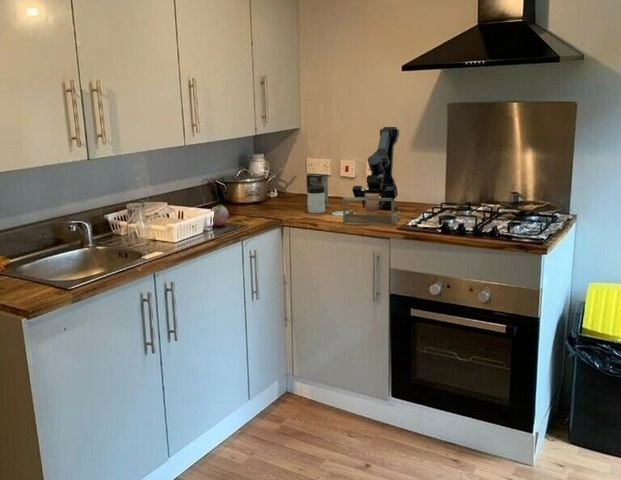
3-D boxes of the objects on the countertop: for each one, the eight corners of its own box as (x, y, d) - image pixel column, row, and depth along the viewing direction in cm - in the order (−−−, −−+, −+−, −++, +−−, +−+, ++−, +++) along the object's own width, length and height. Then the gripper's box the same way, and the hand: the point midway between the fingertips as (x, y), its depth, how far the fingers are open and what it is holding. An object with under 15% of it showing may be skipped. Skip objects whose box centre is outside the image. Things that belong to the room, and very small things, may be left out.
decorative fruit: (210, 224, 283) (209, 202, 281) (229, 223, 284) (228, 201, 282) (209, 228, 274) (207, 206, 272) (228, 228, 275) (227, 205, 272)
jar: (313, 214, 301) (312, 188, 298) (304, 211, 307) (303, 187, 304) (329, 211, 305) (328, 186, 303) (319, 209, 312) (318, 185, 309)
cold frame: (352, 217, 289) (351, 191, 286) (400, 219, 282) (400, 192, 280) (343, 224, 275) (342, 197, 272) (393, 226, 268) (393, 198, 265)
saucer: (344, 211, 305) (344, 210, 305) (360, 214, 297) (360, 212, 296) (327, 214, 298) (326, 213, 298) (342, 217, 290) (342, 216, 290)
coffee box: (306, 207, 319) (305, 175, 316) (313, 205, 324) (312, 173, 321) (322, 208, 314) (321, 176, 311) (328, 206, 320) (328, 174, 316)
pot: (372, 218, 283) (372, 192, 280) (382, 220, 278) (382, 193, 276) (362, 220, 279) (361, 193, 276) (372, 222, 274) (371, 195, 272)
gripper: (353, 167, 280) (347, 196, 272) (395, 167, 274) (390, 197, 267) (357, 182, 289) (351, 211, 281) (398, 183, 283) (393, 212, 276)
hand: (371, 207), depth 276 cm, fingers open, 7 cm apart
